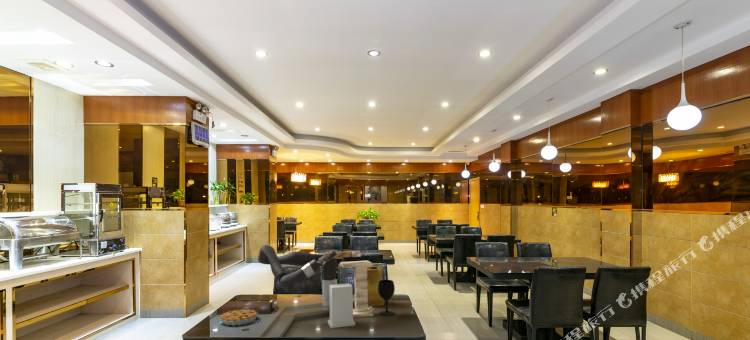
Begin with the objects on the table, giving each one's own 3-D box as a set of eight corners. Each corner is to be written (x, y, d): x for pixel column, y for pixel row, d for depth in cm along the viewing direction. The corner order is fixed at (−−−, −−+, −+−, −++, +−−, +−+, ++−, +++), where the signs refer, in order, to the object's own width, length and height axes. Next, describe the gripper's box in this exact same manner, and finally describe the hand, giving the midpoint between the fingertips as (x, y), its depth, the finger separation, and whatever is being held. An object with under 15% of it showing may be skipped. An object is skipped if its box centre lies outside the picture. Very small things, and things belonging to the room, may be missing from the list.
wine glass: (398, 313, 258) (397, 280, 259) (387, 317, 250) (386, 283, 251) (386, 310, 265) (385, 278, 266) (375, 314, 257) (374, 281, 258)
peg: (325, 258, 250) (325, 253, 251) (324, 257, 256) (323, 252, 256) (360, 256, 257) (360, 251, 257) (358, 255, 262) (358, 250, 262)
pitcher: (388, 306, 272) (385, 267, 274) (360, 308, 272) (357, 269, 274) (388, 300, 289) (385, 264, 291) (361, 302, 289) (359, 266, 291)
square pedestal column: (340, 313, 260) (339, 261, 262) (368, 310, 265) (367, 260, 267) (344, 318, 249) (343, 265, 250) (373, 315, 254) (372, 263, 255)
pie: (246, 313, 265) (246, 305, 265) (264, 320, 249) (264, 312, 249) (213, 321, 249) (213, 313, 250) (229, 329, 234) (229, 320, 234)
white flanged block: (327, 322, 242) (327, 284, 243) (351, 320, 246) (350, 282, 247) (331, 328, 232) (330, 288, 233) (355, 325, 236) (354, 286, 237)
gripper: (309, 265, 243) (334, 248, 248) (306, 261, 257) (330, 246, 262) (316, 275, 244) (340, 259, 249) (312, 271, 257) (336, 256, 262)
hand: (335, 252), depth 255 cm, fingers closed on peg, 3 cm apart
